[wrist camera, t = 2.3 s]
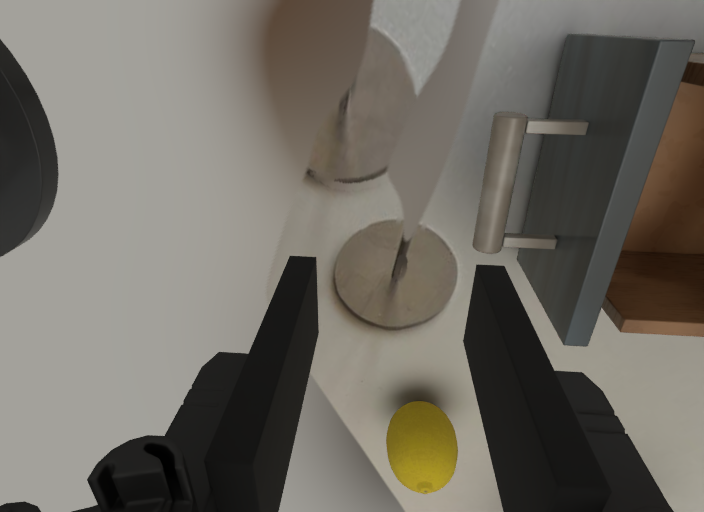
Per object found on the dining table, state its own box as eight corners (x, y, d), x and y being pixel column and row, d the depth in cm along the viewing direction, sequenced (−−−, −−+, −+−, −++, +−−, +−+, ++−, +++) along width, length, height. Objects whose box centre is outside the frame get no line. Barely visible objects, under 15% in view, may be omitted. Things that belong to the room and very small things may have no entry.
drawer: (452, 256, 29) (476, 340, 22) (484, 32, 23) (534, 37, 15) (742, 269, 28) (877, 363, 20) (862, 38, 22) (1126, 46, 14)
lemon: (389, 427, 39) (390, 515, 32) (383, 382, 37) (382, 467, 30) (451, 425, 39) (465, 514, 31) (449, 379, 36) (464, 465, 29)
